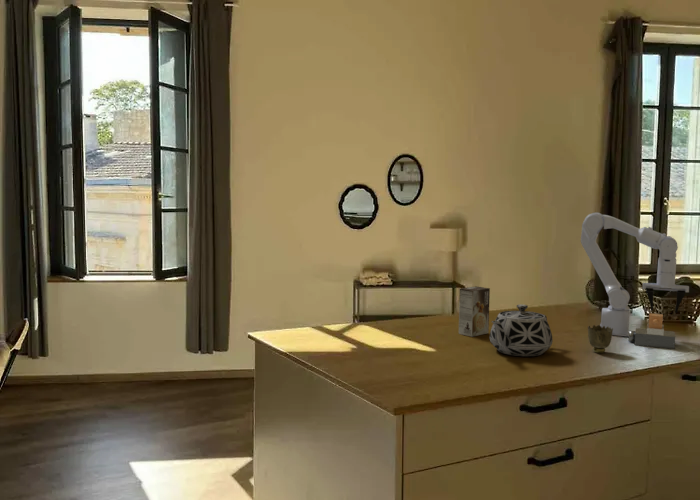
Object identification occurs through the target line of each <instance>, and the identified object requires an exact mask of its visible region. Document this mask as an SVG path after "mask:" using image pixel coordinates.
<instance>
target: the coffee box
mask: <svg viewBox="0 0 700 500" xmlns="http://www.w3.org/2000/svg"><path fill="white" fill-rule="evenodd" d="M490 290H491V288H489V287H483V286H476V285H475V286H469V287H462V288H459V300H458V301H459V303H458V305H459V306H458V308H459V309H458V334H459V335H462V336H468V337H472V338H473V337H477V336H482V335H486V334H490V332H489V331H490V330H489V329H490V328H489V327H490V323H489V322H490V296H491V295H490V294H491V291H490Z"/></svg>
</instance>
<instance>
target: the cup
mask: <svg viewBox="0 0 700 500" xmlns="http://www.w3.org/2000/svg"><path fill="white" fill-rule="evenodd" d="M612 332H613V328H612V329H611V328H609V327H606V329H605V326H603V327H601V326H600V324H598V325H595V324H593V325H592V327H591V326H590V325H589V326H587V333H588V343H589V344H590V346H591V347H592V350H593V352H594V353H596V354H604V353H605V352H606V349H607V348H608V347H609V346H610V345H611V342H612V336H613V335H612Z"/></svg>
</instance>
